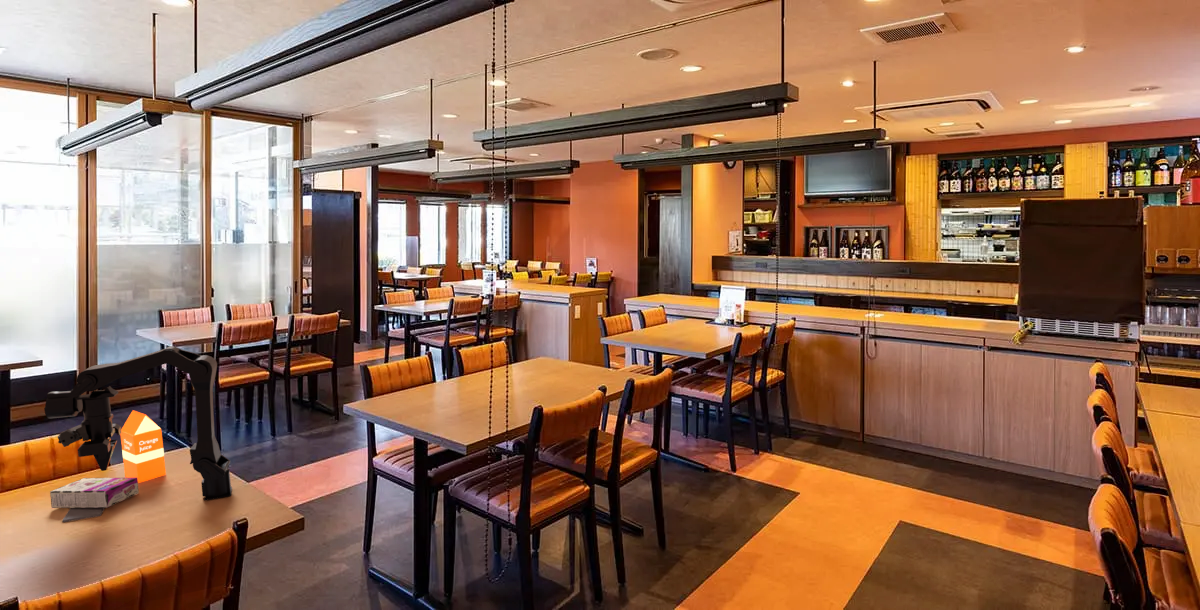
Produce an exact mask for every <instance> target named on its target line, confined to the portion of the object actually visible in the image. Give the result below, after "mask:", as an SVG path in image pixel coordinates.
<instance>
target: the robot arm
mask: <svg viewBox="0 0 1200 610" xmlns="http://www.w3.org/2000/svg"><path fill="white" fill-rule="evenodd" d="M166 364H167V365H170V366H173V367H174V368H176V369H178V370H179V371H181V372H184V373H185V374H188V377H189V380H190V383H191V386H192V387H193V391H194V393H195V395H194V397H195V412H196V413H195V415H196V417H195V418H196V434H197V435H196V436H197V438H196V439H197V441H196V442H194V443H193V444H192V446H191V447H190V449H189V455H190V462H189V465H192V467H193V470H194V471H196V472H197V473H199V474H200V476H201V477H202V479H201V492H202V493H201V495H202V497H204V498H203V500H204V501H210V500H216V499H221V498H228V497H231V496H232V491H233V487H232V484H231V483H232V482H231V473H230V469H228V468H229V467H230V463H231V460H230V459H228V457H226V456H224V454H223V455H222V453H221V450H220V445H219V443H218V441H217V438H216V436H215V417H214V396H213V395H214V394H213V391H214V390H213V388H214V383H215V379H216V375H217V368H218V363H217V360H216V359H215V358H214V357H212V356H210V355H207V354H205V355H204V354H203V355H201V354H199V353H196V352H192V351H189V350H188V351H187V350H185V349H182V348H179V347H176V346H173V345H171V346H170V345H169V346H167V347H166V348H163V349H160V350H156V351H154V352H150V353H147V354H143V355H139V356H137V357H133V358H131V359H127V360H124V361H121V362H110V363H101V364H96V365H92V366H90V367H88V368H86V369H84V370H83V371H81V372H80V373H78V375H77V376H76V384H75V385H74V387H73V388H72V389H71V390H67V391H58V390H57V391H55V390H53V391H50V392H48V393H47V394H46V397H47V398H46V401H45V405H44V406H45V407H44V410H43V411H44V414H45V416H46V418H47V419H57V418H58V419H59V418H68V417H69V418H70V417H77V416H78V414H79V413H81V412H82V411H83V420H82V421H81V423H80V424H78V425H76V426H73V427H71V428H68V429H66V430H63V431H61V432H60V433H59V434H58V436H57V439H58V441H57V443H58V444H60V445H62V446H63V448H67V447H69V446H70V445H71V444H74V443H76V442H79V441H80V440H82V444H81V445H80V446H79V447H78V449H77V455H78V456H77V457H79V458H83V457H84V458H85V457H90V456H93V457H94V460H96V462H97V465H98V467H99V469H100V471H102V472H104V471H107V469H108V467H109V464H110V462H111V459H112V456H113V453H114V451H115V447H116V445H117V442H118V439H111V438H112V437H113V436H114V434H116V436H121V435H120V434H121V429H122V426H121V425H120V424H118V423H113V419H114V414H113V413H112V411H111V401H110V398H115V396H117V395H118V394H119V391H118V390H116V389H114V388H112V386H110V384H111V383H114V382H115V381H117V380H119V379H121V378H124V377H127V376H130V375H134V374H136V373H140V372H143V371H146V370H150V369H153V368H156V367H160V366H163V365H166ZM107 385H109V386H107ZM105 386H107V387H106V388H105V389H103V390H102V389H101V388H103V387H105ZM99 389H100V390H99ZM86 392H90V393H88V394H85V393H86Z"/></svg>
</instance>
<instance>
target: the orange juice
mask: <svg viewBox="0 0 1200 610" xmlns="http://www.w3.org/2000/svg"><path fill="white" fill-rule="evenodd" d="M119 436H120V442H121V451H122V452H121V453H122V460H123V467H124V478H136V477H137V479H138V484H140V483H144V482H147V481H150V480H154V479H156V478H159V477H163V476H166V475H167V471H166V461H165V449H164V443H163V442H164V441H163V433H162V428H161V427H160V426H158V424H157V423H156V422H154V421H153V420H152V418H150V417H149V416H148V415H147V414H145V413H142V412H139V411H137V410H133V409H132V411H131V413H130V414H129V416H128V418H127V419H126V421H125V422H124V425H123V426H122V427H121V434H120V435H119Z"/></svg>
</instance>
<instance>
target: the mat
mask: <svg viewBox="0 0 1200 610" xmlns="http://www.w3.org/2000/svg"><path fill="white" fill-rule="evenodd" d="M104 511H105V508H69V509H68V511H67V512H66V514H65V516H64V517H63V519H62V520H61V522H62V523H67V522H74V521H78V520H80V521H81V520H84V519H85V520H86V519H91V518H96V517H97V518H98V517H101V516H102V514H103V512H104Z"/></svg>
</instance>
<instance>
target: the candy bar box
mask: <svg viewBox="0 0 1200 610" xmlns="http://www.w3.org/2000/svg"><path fill="white" fill-rule="evenodd" d="M139 489H140V488H139V483H138V479H137V477H136V478H126V477H84V478H80V479H79V480H76V481H73V482H70V483H68V484H65V485H62V486H60V487H58V488H55V489H54V490H50V491H49V494H50V504H51V509H70V508H106V509H107V508H110V507H112V506H114V505H116V504H118V503H120V502H122V501H125V500H127V499H130V498H131V497H134V496H136V495H138V494H139V493H140V492H139Z"/></svg>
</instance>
